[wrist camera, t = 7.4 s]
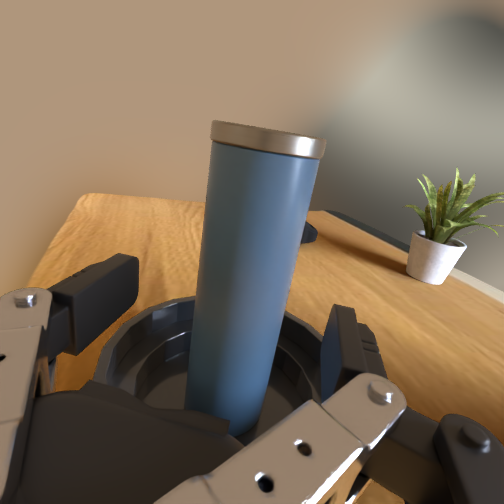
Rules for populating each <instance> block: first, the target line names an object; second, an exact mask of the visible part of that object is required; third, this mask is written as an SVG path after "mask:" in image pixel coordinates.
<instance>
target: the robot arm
mask: <svg viewBox="0 0 504 504" xmlns="http://www.w3.org/2000/svg"><path fill="white" fill-rule="evenodd" d="M138 290H139V260H138V258H137V257H134V256H129V255H125V254H121V253H118V254H116V255H114V256H112V257H110V258H109V259H107V260H105V261H103V262H99V263H96V264H92V265H90V266H88V267H86V268H84V269H82V270H81V271H80V272H77V273H75V274H73V275H72V276H70V277H68V278H66V279H64V280H62V281H61V282H59V283H57V284H55V285H53V286H52V287H50V288H48V289H42V288H23V289H18V290H14V291H11V292H9V293H7V294H5V295H3V296H2V297H0V504H354V503H355V502H356V501H357V499H358V498H359V497H360V495H361V494H362V493H363V491H364V490H365V489H366V488H367V486H368V485H369V484H370V482H371V481H372V480H374V481H375V482H377V483H378V484H380V485H382V486H383V487H385V488H386V489H388V490H390V491H391V492H393V493H394V494H396V495H398V496H399V497H401V498H402V499H404V501H405V504H504V447H503V445H502V444H501V443H500V441H499V440H498V439H497V438H496V437H495V436H494V435H493V434H492V433H491V432H490V431H489V430H487V429H486V428H485V427H484V426H482V425H481V424H479V423H477V422H476V421H474V420H472V419H470V418H468V417H465V416H462V415H458V414H448V415H445V416H444V417H443V418H442V420H441V421H440V423H438V422H436V421H434V420H432V419H430V418H428V417H426V416H424V415H422V414H420V413H418V412H416V411H414V410H413V409H411V408H410V407H408V406H407V402H406V398H405V396H404V394H403V393H402V391H401V390H400V389H399V388H398V387H397V386H396V385H395V384H393V383H392V382H391V381H389V380H388V378H387V375H386V371H385V368H384V365H383V362H382V358H381V355H380V354H379V348H378V346H377V342H376V339H375V335H374V334H373V332H372V331H371V330H370V329H369V328H368V327H367V325H365V324H361V323H357V319H356V315H355V311H354V308H350V307H345V306H341V305H337V304H334V305H333V306H332V309H331V312H330V316H329V319H328V322H327V326H326V329H325V332H324V336H323V340H322V344H321V353H320V356H321V395H322V404H319V403H318V402H317V401H316V400H314V399H311V400H308V401H307V402H305V403H304V404H303V405H301V406H300V407H298V408H297V409H296V410H294V411H293V412H292V413H290V414H289V415H288V416H286V417H285V418H284V419H282V420H281V421H280V422H278V423H277V424H275V425H274V426H273V427H271V428H270V429H269V430H267V431H266V432H265V433H263V434H262V435H261V436H259V437H258V438H257V439H255V440H254V441H252V442H251V443H250V444H248V445H247V446H246V447H245V446H244V445H243V444H242V443H240V442H239V441H238V440H236V439H235V438H234V437H232V436H231V435H229V434H228V431H229V425H230V420H226V419H223V418H219V417H216V416H213V415H209V414H206V413H202V412H199V411H195V410H183V409H166V408H154V407H151V406H149V405H148V404H146V403H144V402H143V401H141V400H139V399H138V398H136V397H134V396H133V395H131V394H130V393H128V392H126V391H125V390H123V389H120V388H117V387H113V386H110V385H106V384H103V383H100V382H96V381H93V380H89V381H88V382H87V383H86V384H85V385H84V386H83V387H82V388H81V389H80V390H72V391H61V392H55V386H56V377H57V368H58V357H57V355H59V354H60V353H61V352H64V353H68V354H71V355H75V356H77V355H78V354H79V353H80V352H82V351H83V350H84V349H85V348H86V347H87V346H88V345H89V344H90V343H92V342H93V341H94V340H95V339H96V338H97V337H98V336H99V335H100V334H101V333H103V332H104V331H105V330H106V329H107V328H108V327H109V326H110V325H111V324H113V323H114V322H115V321H116V320H117V319H118V318H119V317H120V316H121V315H123V314H124V313H125V312H126V311H127V310H128V309H129V308H130V307H131V306H132V305H133V304H134V303H135V301H136V299H137V296H138Z"/></svg>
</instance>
